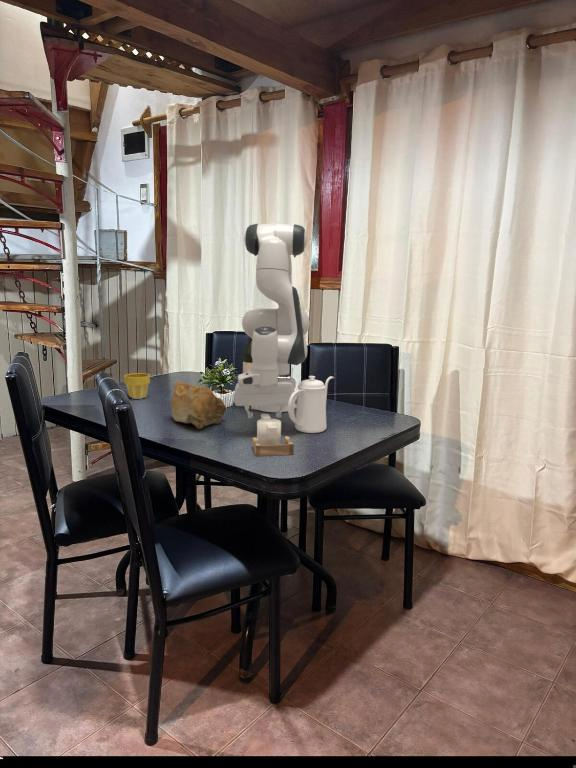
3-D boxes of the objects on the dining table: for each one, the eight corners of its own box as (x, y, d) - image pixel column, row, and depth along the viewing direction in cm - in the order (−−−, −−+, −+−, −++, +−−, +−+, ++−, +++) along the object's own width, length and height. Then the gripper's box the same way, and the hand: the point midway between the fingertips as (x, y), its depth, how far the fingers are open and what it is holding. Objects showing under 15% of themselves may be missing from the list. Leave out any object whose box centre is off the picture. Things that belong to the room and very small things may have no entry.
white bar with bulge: (275, 433, 193) (275, 413, 192) (284, 449, 177) (285, 427, 175) (253, 434, 192) (253, 413, 190) (260, 450, 175) (260, 428, 174)
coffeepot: (344, 424, 205) (346, 373, 201) (301, 440, 186) (302, 383, 182) (320, 419, 212) (321, 369, 208) (276, 433, 193) (276, 378, 189)
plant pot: (129, 394, 245) (128, 372, 243) (153, 395, 245) (152, 373, 243) (121, 400, 235) (120, 377, 233) (146, 401, 234) (145, 377, 232)
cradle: (252, 446, 178) (252, 437, 178) (288, 445, 180) (288, 436, 180) (256, 456, 170) (256, 446, 169) (293, 454, 172) (293, 444, 171)
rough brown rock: (238, 430, 199) (240, 387, 197) (193, 433, 189) (195, 388, 187) (208, 417, 218) (210, 378, 216) (167, 419, 208) (168, 378, 207)
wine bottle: (264, 388, 263) (265, 322, 257) (254, 391, 256) (254, 324, 250) (249, 385, 268) (250, 321, 261) (239, 388, 261) (239, 322, 254)
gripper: (294, 374, 193) (293, 414, 196) (233, 375, 189) (233, 416, 192) (297, 378, 187) (296, 419, 190) (234, 379, 183) (234, 421, 186)
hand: (264, 417), depth 191 cm, fingers open, 8 cm apart
